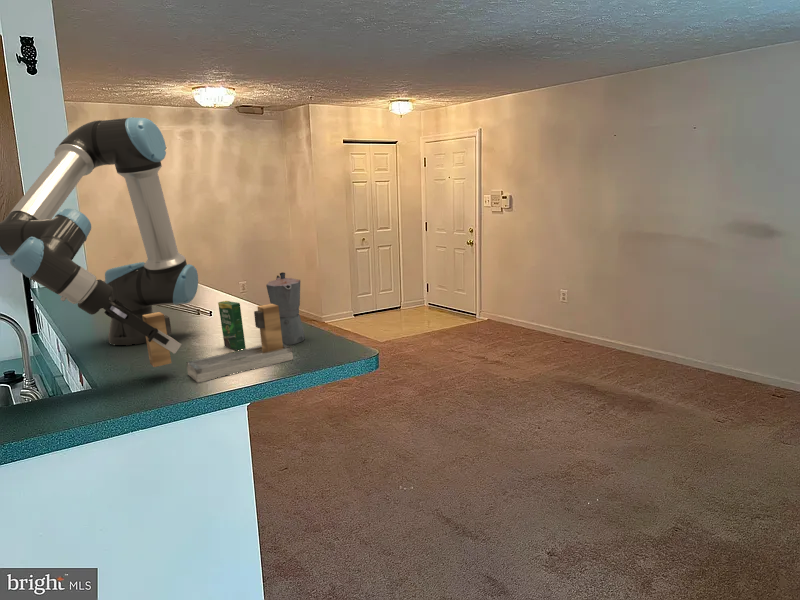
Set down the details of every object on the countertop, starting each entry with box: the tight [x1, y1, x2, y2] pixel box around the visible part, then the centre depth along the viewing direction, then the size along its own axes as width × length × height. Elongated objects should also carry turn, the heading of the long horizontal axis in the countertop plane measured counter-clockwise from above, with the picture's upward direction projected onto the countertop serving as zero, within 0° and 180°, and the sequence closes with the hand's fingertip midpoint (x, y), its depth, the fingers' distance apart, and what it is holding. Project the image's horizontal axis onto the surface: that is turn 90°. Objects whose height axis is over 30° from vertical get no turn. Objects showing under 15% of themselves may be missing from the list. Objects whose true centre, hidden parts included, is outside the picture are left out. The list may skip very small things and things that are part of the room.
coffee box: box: [217, 300, 247, 351], centre depth 161 cm, size 8×3×13 cm, turn 43°
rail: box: [185, 344, 294, 383], centre depth 144 cm, size 8×24×3 cm, turn 125°
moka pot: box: [266, 272, 306, 346], centre depth 164 cm, size 10×15×20 cm, turn 27°
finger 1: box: [142, 311, 173, 368], centre depth 139 cm, size 4×5×12 cm
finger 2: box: [253, 303, 283, 352], centre depth 147 cm, size 4×5×12 cm
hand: (175, 346), depth 141 cm, fingers closed on finger 1, 4 cm apart
